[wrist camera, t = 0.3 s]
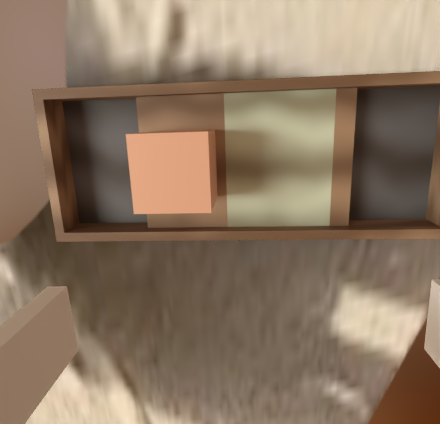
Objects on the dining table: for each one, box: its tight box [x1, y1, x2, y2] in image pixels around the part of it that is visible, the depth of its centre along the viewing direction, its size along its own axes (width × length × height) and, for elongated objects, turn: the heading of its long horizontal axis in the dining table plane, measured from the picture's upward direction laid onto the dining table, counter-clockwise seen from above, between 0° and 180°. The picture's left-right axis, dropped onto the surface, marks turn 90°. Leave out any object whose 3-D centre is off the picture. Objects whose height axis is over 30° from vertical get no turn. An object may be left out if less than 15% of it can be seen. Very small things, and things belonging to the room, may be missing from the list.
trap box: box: [32, 71, 440, 242], centre depth 36 cm, size 16×42×4 cm, turn 92°
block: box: [126, 130, 218, 214], centre depth 33 cm, size 7×7×7 cm
